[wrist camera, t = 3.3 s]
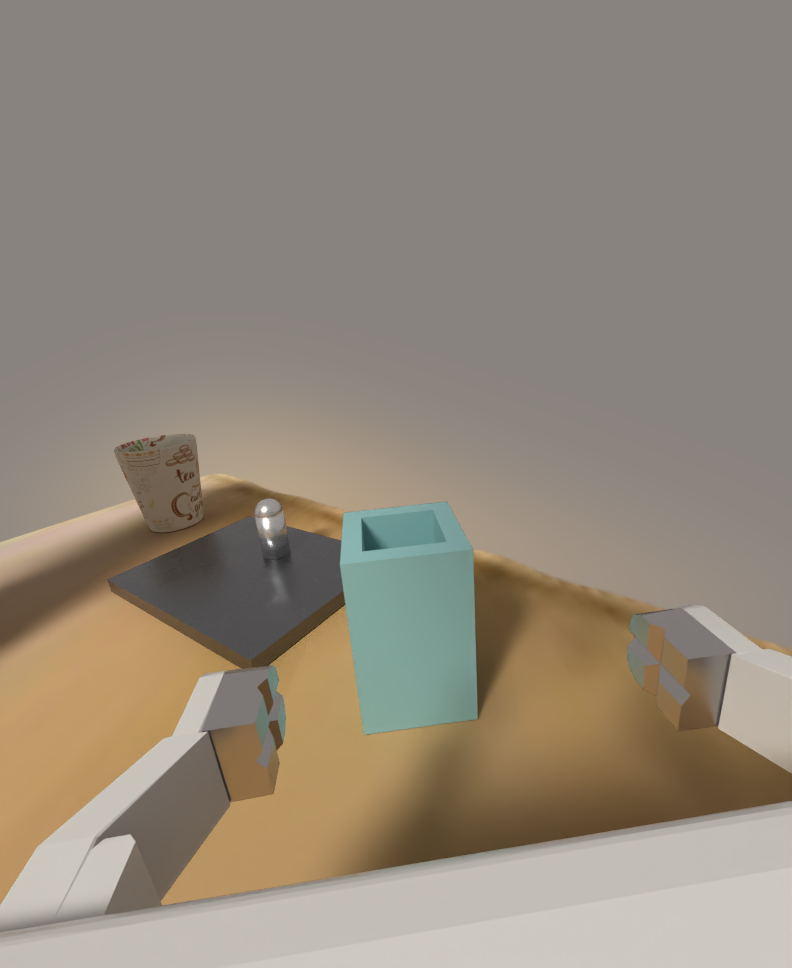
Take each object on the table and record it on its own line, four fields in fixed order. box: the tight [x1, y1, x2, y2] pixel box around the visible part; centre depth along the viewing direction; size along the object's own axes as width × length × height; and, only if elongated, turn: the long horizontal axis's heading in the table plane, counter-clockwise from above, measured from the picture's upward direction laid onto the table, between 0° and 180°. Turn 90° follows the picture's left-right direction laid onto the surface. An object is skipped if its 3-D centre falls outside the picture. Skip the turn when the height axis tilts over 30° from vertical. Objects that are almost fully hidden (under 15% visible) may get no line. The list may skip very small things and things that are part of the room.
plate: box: [108, 499, 345, 669], centre depth 37 cm, size 15×20×6 cm
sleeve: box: [340, 502, 478, 735], centre depth 24 cm, size 6×6×10 cm
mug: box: [114, 434, 203, 532], centre depth 52 cm, size 8×13×10 cm, turn 58°
